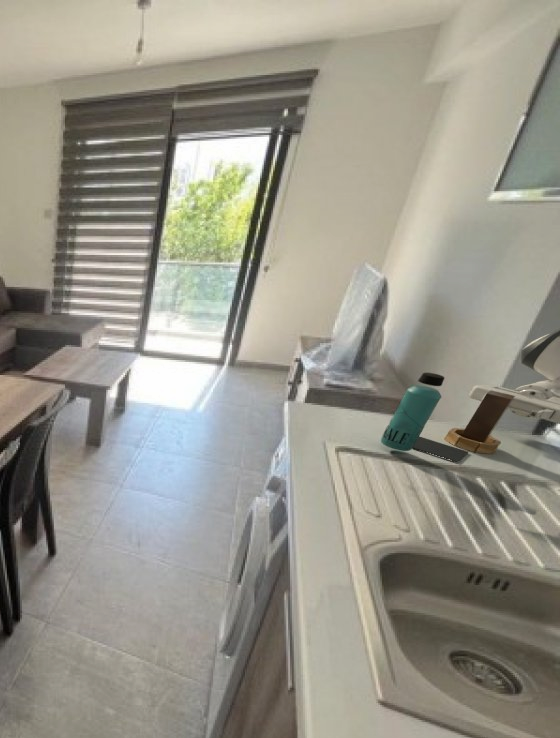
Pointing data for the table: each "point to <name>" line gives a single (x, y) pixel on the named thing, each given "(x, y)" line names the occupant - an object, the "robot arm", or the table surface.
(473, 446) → the ring stand
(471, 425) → the peg
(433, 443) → the mat
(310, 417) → the table surface
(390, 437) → the beverage bottle
